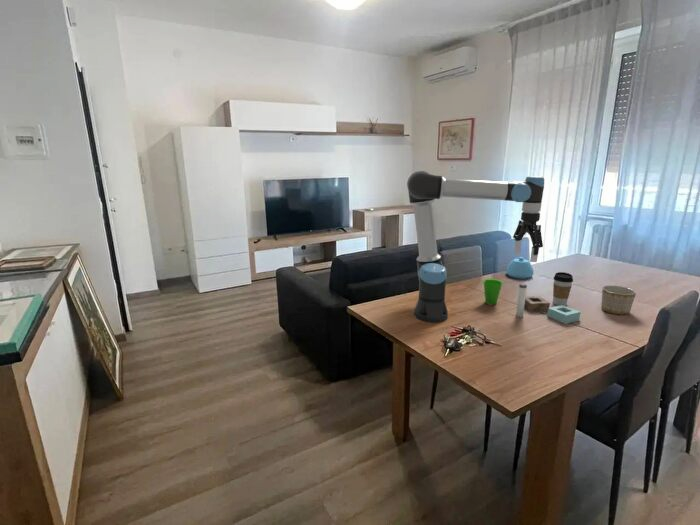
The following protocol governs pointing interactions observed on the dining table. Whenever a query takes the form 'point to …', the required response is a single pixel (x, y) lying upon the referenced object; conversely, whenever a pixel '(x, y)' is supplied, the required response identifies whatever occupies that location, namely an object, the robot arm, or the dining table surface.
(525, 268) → the sugar bowl
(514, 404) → the dining table surface
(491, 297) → the cup
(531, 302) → the brown square wooden ring
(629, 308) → the planter
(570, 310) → the teal square ring
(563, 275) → the coffee cup
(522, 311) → the pale grey rod
